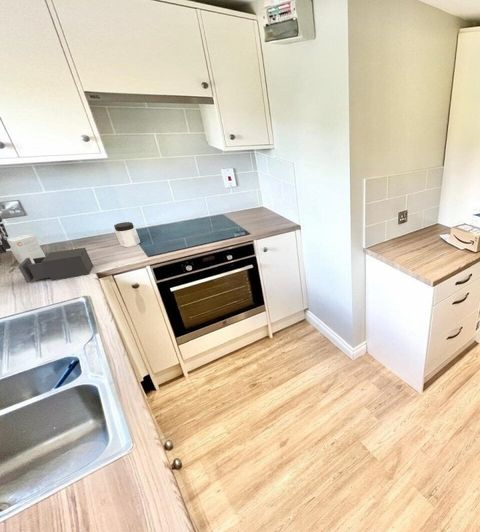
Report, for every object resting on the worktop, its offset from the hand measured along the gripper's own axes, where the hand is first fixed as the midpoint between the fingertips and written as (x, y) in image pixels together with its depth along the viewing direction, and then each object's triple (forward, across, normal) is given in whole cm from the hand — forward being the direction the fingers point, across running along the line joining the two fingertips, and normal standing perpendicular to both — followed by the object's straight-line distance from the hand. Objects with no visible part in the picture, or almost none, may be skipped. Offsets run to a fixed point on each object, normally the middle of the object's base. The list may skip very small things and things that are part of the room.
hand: (5, 250), depth 137 cm
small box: (+15, -24, -3) cm, 29 cm away
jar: (+15, -28, +36) cm, 49 cm away
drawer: (+14, 0, +6) cm, 15 cm away
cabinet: (+15, 0, +17) cm, 23 cm away
